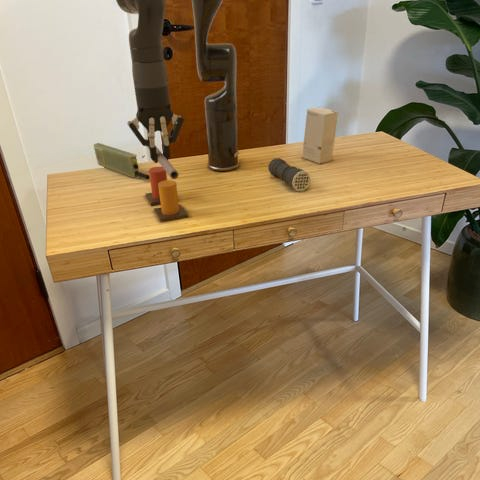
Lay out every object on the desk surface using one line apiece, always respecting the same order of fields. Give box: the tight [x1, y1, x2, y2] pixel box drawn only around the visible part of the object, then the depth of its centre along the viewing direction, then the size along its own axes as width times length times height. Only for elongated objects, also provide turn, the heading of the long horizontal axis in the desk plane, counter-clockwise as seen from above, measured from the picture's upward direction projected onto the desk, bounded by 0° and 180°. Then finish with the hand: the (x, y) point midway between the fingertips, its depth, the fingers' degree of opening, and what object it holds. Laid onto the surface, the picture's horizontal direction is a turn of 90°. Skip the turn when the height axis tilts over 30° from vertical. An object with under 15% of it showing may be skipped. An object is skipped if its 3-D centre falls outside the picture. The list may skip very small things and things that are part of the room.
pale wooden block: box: [301, 106, 339, 165], centre depth 143 cm, size 8×6×15 cm
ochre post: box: [153, 179, 189, 223], centre depth 114 cm, size 7×7×8 cm
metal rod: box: [146, 145, 179, 180], centre depth 113 cm, size 2×27×2 cm, turn 21°
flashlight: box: [267, 157, 311, 192], centre depth 130 cm, size 15×5×5 cm, turn 25°
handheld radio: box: [93, 142, 150, 180], centre depth 140 cm, size 7×3×25 cm
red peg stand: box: [145, 166, 168, 206], centre depth 122 cm, size 7×7×8 cm
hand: (160, 161), depth 113 cm, fingers closed on metal rod, 2 cm apart
